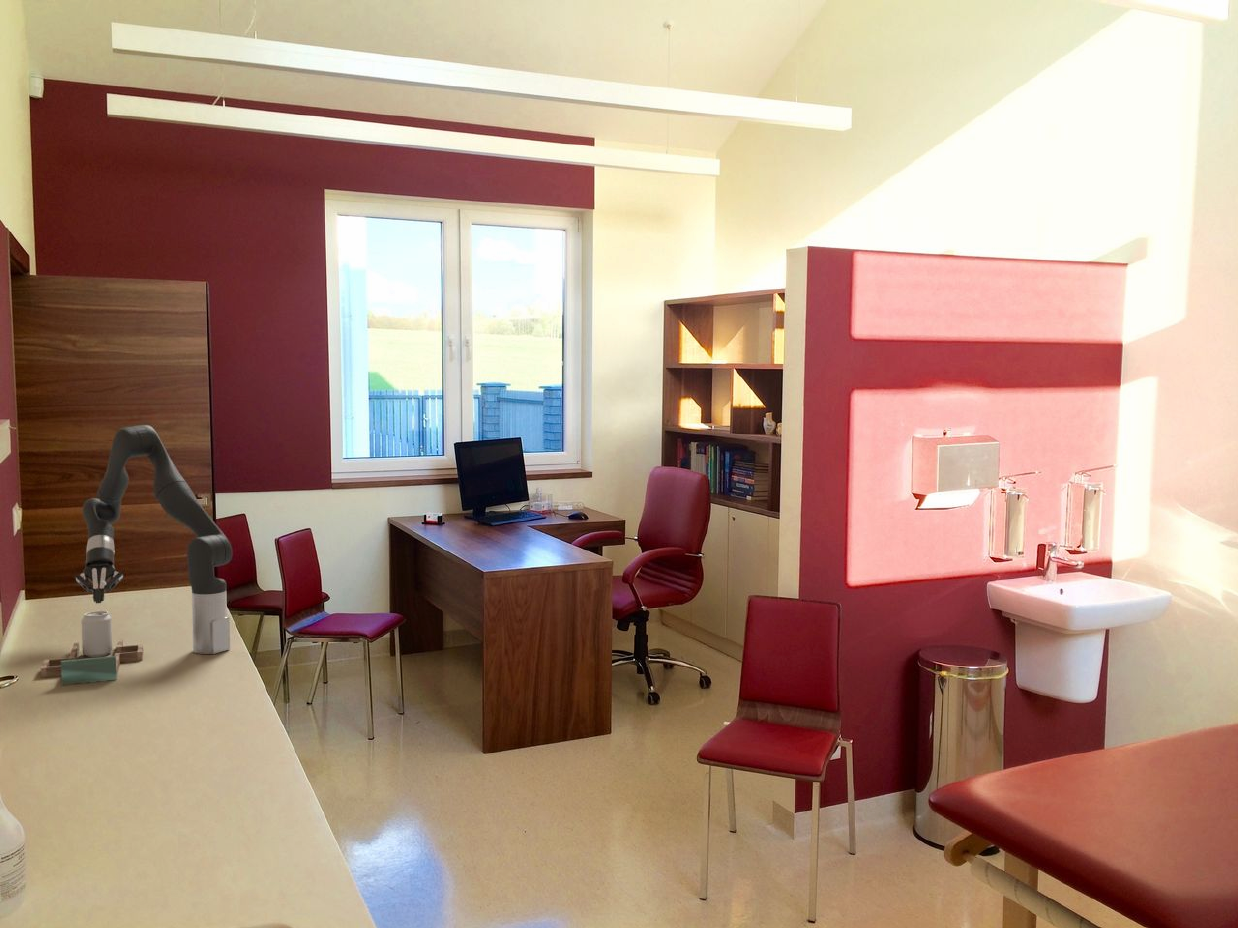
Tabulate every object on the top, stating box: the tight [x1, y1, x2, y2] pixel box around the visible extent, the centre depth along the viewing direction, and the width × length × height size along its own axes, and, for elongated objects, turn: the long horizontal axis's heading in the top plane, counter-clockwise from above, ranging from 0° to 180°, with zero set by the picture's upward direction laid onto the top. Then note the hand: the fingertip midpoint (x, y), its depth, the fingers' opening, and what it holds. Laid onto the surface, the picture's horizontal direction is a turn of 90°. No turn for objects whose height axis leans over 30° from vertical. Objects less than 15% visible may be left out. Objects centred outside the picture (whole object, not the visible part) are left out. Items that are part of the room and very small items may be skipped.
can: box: [81, 610, 113, 658], centre depth 281 cm, size 8×8×12 cm
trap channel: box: [40, 638, 144, 686], centre depth 271 cm, size 35×24×6 cm
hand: (98, 601), depth 290 cm, fingers closed
